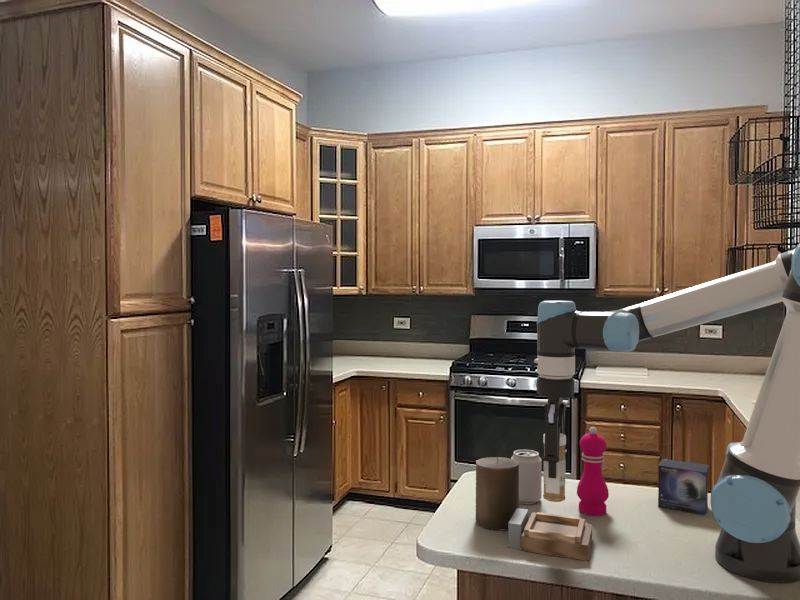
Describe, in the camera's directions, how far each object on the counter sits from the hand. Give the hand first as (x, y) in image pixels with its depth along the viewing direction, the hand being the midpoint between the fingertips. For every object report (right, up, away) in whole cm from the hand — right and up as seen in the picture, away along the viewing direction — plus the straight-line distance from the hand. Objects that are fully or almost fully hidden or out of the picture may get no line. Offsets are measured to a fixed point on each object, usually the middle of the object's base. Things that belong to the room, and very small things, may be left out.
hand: (554, 488), depth 131 cm
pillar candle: (-10, -12, +13) cm, 20 cm away
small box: (+36, -11, +21) cm, 43 cm away
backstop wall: (-7, -12, +3) cm, 14 cm away
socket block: (+1, -12, 0) cm, 12 cm away
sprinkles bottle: (0, -2, 0) cm, 2 cm away
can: (-1, -11, +27) cm, 29 cm away
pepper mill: (+14, -11, +19) cm, 26 cm away
